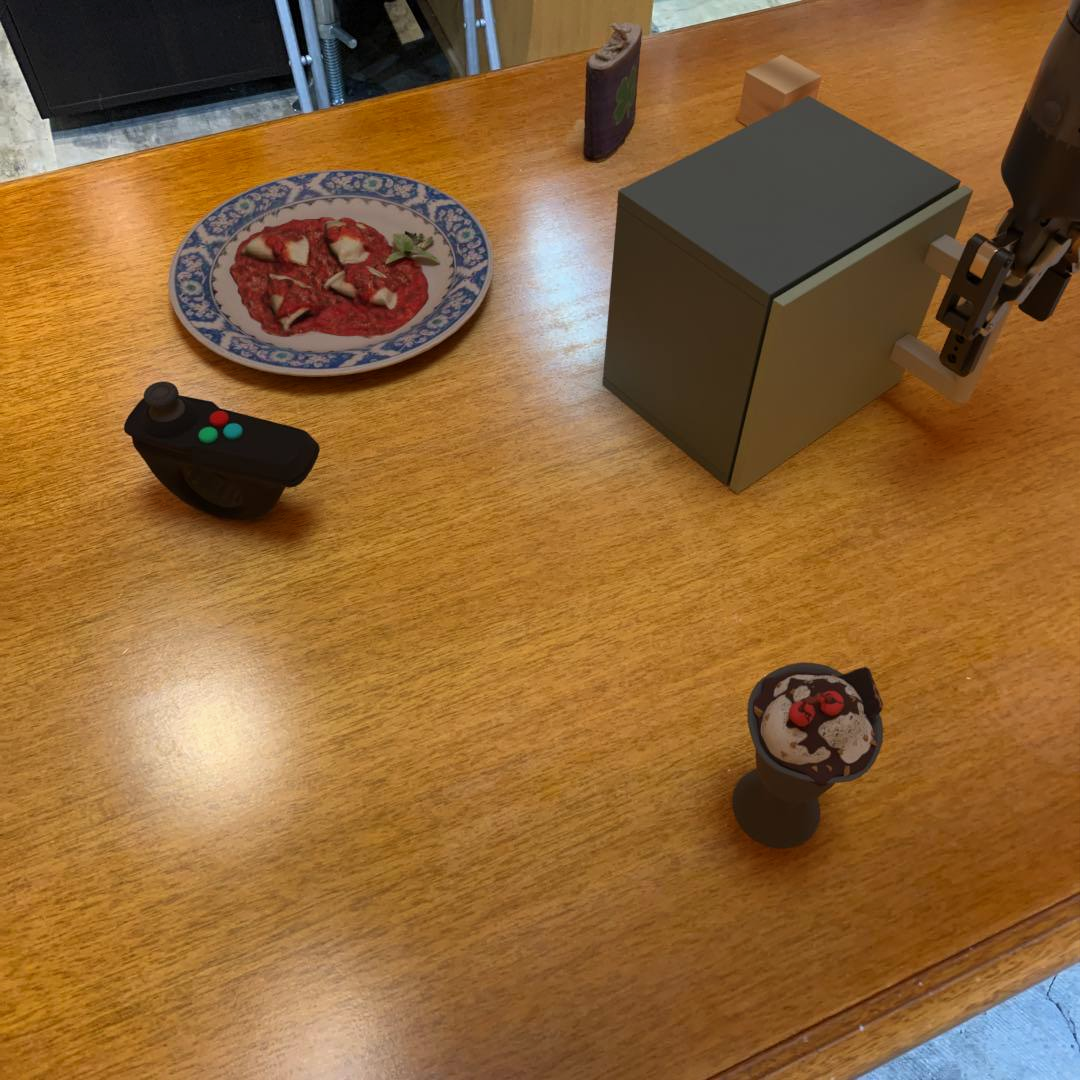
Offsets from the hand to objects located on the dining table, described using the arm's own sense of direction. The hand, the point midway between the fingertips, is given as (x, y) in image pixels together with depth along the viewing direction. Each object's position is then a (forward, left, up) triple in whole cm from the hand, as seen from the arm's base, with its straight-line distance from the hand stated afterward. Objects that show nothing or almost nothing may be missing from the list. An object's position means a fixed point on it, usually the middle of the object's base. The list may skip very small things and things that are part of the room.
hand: (994, 340), depth 71 cm
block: (-22, -37, -10) cm, 44 cm away
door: (+6, -3, -10) cm, 12 cm away
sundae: (+30, +11, -10) cm, 34 cm away
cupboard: (+6, -14, -10) cm, 18 cm away
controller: (+42, -27, -10) cm, 51 cm away
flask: (-8, -45, -10) cm, 47 cm away
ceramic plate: (+24, -43, -10) cm, 50 cm away
